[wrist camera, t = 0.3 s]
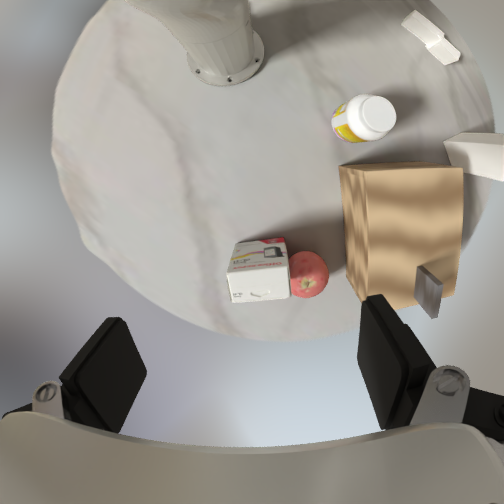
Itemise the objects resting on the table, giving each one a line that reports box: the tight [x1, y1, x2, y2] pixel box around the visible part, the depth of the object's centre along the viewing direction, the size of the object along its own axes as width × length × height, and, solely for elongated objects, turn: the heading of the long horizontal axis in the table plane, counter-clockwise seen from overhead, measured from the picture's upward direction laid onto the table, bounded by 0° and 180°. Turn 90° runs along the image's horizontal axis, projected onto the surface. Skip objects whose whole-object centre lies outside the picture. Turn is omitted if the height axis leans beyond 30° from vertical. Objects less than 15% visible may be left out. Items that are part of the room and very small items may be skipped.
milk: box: [443, 133, 504, 182], centre depth 28 cm, size 6×6×22 cm
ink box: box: [226, 237, 292, 303], centre depth 42 cm, size 9×5×12 cm, turn 98°
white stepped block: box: [401, 10, 461, 65], centre depth 29 cm, size 15×11×6 cm
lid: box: [364, 167, 463, 319], centre depth 29 cm, size 20×16×7 cm
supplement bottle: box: [331, 94, 396, 143], centre depth 33 cm, size 7×7×13 cm
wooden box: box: [339, 161, 455, 303], centre depth 38 cm, size 20×16×12 cm
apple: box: [288, 251, 329, 298], centre depth 44 cm, size 7×7×8 cm
